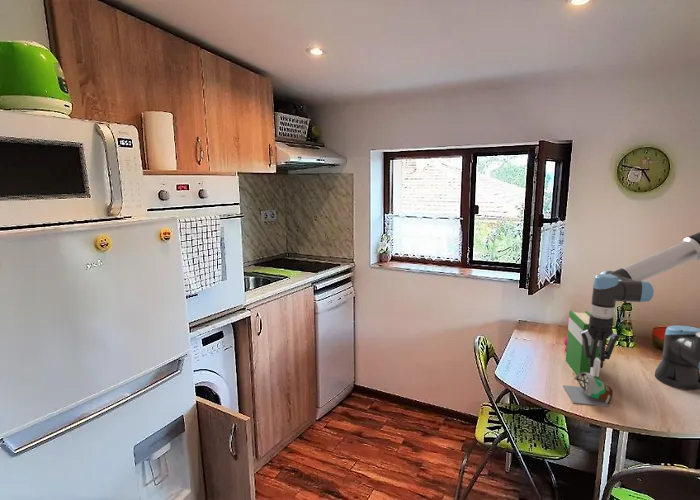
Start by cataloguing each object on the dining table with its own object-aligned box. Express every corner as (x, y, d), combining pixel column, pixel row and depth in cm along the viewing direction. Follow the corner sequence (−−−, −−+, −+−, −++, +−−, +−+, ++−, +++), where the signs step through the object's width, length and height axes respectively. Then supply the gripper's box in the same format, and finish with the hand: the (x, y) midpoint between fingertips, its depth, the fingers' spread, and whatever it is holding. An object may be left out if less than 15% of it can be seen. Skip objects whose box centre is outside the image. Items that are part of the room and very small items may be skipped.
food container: (619, 392, 149) (593, 380, 151) (610, 406, 151) (584, 394, 152) (606, 376, 161) (581, 365, 162) (598, 389, 163) (573, 378, 164)
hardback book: (565, 360, 188) (569, 310, 184) (583, 361, 187) (587, 311, 183) (579, 378, 171) (583, 324, 167) (598, 380, 170) (603, 325, 166)
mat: (595, 388, 163) (595, 387, 163) (608, 406, 151) (608, 405, 151) (562, 386, 166) (562, 385, 166) (573, 403, 153) (573, 402, 153)
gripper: (585, 317, 149) (578, 377, 154) (626, 320, 147) (618, 381, 151) (578, 311, 157) (571, 368, 161) (617, 313, 154) (610, 372, 158)
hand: (594, 374), depth 156 cm, fingers closed
